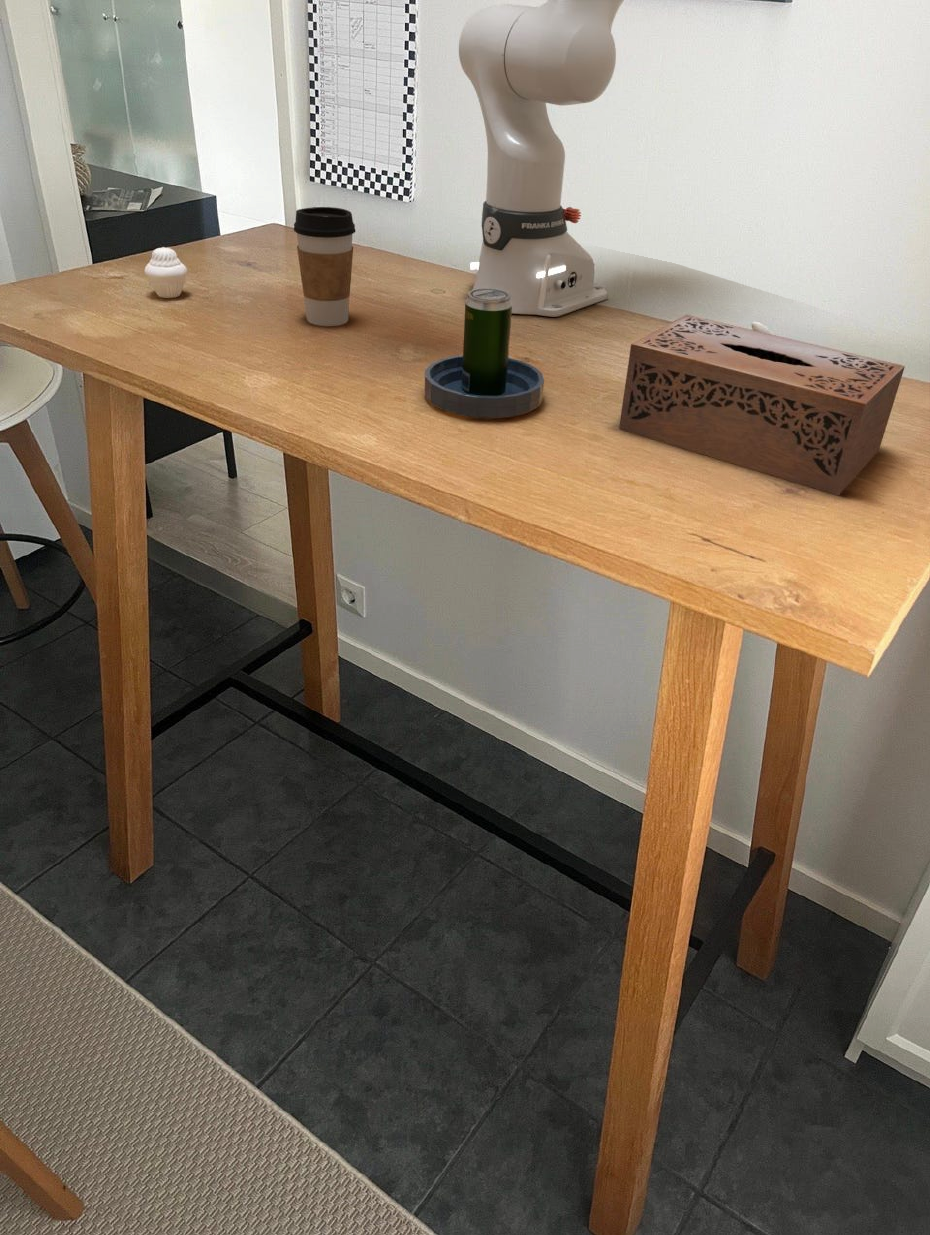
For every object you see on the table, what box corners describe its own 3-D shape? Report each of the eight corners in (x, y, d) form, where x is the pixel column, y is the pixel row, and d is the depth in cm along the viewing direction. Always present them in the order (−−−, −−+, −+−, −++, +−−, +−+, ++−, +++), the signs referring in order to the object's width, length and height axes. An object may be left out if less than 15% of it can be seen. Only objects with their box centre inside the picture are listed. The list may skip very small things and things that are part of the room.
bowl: (489, 369, 128) (491, 347, 126) (565, 405, 119) (568, 381, 117) (401, 391, 120) (401, 368, 118) (474, 431, 111) (476, 406, 109)
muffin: (198, 294, 148) (193, 246, 144) (168, 303, 144) (162, 254, 140) (169, 286, 151) (163, 239, 147) (138, 295, 147) (131, 246, 143)
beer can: (477, 406, 116) (483, 304, 109) (452, 391, 120) (456, 291, 113) (514, 398, 119) (521, 298, 112) (488, 383, 122) (495, 285, 115)
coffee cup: (286, 323, 139) (280, 211, 131) (316, 307, 146) (312, 200, 137) (339, 333, 137) (336, 219, 128) (367, 316, 143) (366, 207, 135)
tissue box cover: (878, 451, 112) (905, 366, 106) (838, 495, 102) (865, 404, 96) (672, 393, 124) (686, 314, 118) (618, 428, 114) (631, 343, 108)
